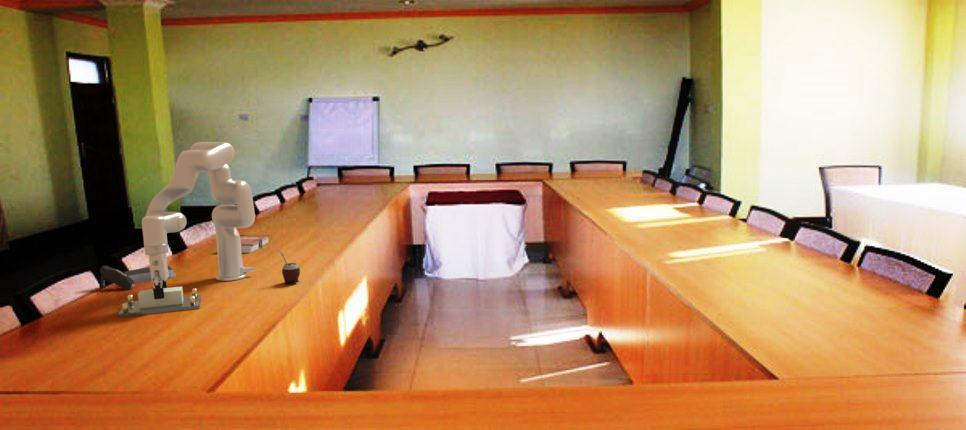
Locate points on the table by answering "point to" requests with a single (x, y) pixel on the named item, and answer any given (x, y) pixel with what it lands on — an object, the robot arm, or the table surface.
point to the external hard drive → (145, 274)
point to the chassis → (133, 306)
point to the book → (252, 243)
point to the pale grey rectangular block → (170, 298)
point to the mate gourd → (290, 272)
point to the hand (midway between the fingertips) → (160, 295)
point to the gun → (115, 278)
